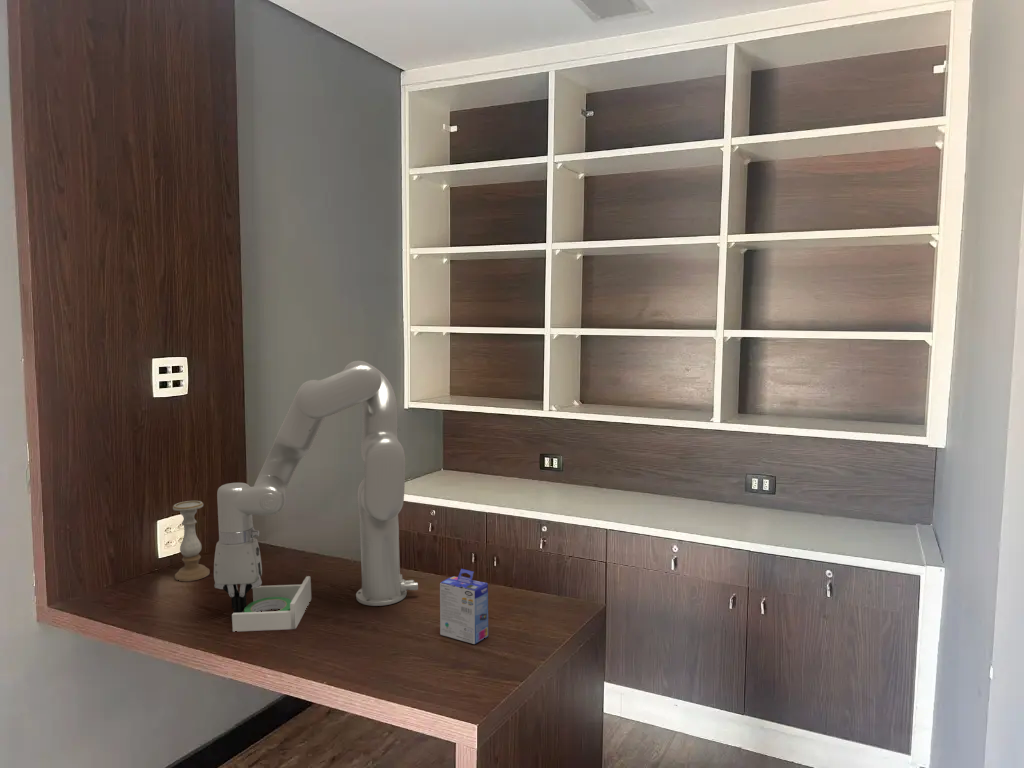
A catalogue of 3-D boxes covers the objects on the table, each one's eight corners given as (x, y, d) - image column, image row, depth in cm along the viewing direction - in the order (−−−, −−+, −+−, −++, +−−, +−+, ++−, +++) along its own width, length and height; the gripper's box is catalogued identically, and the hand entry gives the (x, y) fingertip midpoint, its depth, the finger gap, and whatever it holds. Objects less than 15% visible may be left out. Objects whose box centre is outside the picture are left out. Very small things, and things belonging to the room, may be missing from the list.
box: (311, 599, 180) (310, 576, 179) (295, 629, 163) (294, 603, 162) (254, 601, 179) (253, 578, 178) (232, 631, 162) (231, 606, 161)
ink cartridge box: (490, 635, 158) (489, 572, 157) (476, 645, 154) (474, 580, 152) (454, 626, 163) (452, 564, 162) (439, 635, 159) (437, 572, 157)
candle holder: (179, 584, 191) (174, 510, 189) (171, 575, 198) (166, 503, 196) (213, 576, 197) (209, 504, 195) (204, 567, 203) (200, 498, 201)
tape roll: (276, 629, 164) (275, 617, 163) (234, 624, 167) (234, 613, 166) (302, 609, 174) (302, 599, 174) (263, 605, 177) (262, 594, 177)
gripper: (272, 530, 173) (275, 603, 174) (209, 531, 172) (212, 605, 173) (264, 540, 165) (267, 616, 167) (197, 541, 164) (201, 618, 166)
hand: (239, 610), depth 170 cm, fingers closed
